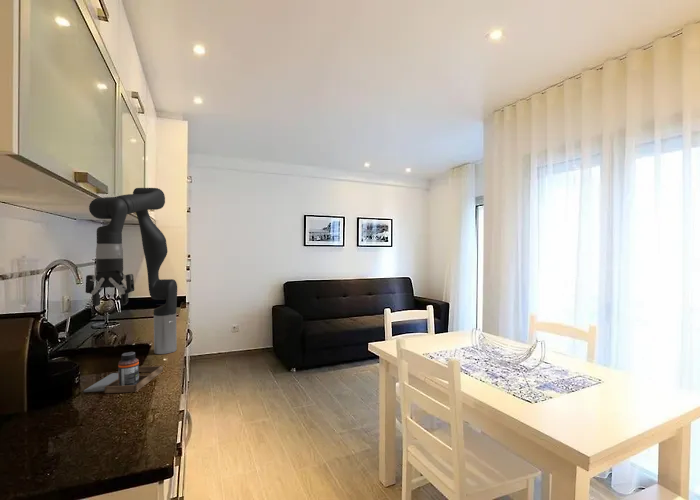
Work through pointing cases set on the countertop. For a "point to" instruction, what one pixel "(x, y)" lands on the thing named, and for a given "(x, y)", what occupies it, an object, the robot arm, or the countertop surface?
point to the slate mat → (102, 383)
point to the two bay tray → (143, 380)
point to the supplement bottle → (128, 369)
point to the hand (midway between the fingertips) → (110, 305)
